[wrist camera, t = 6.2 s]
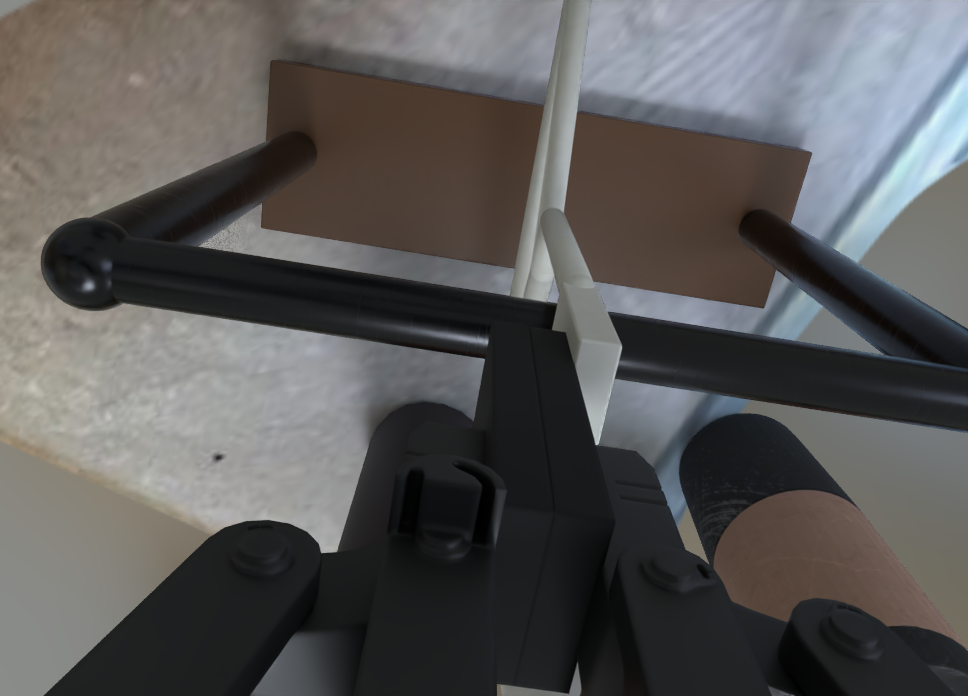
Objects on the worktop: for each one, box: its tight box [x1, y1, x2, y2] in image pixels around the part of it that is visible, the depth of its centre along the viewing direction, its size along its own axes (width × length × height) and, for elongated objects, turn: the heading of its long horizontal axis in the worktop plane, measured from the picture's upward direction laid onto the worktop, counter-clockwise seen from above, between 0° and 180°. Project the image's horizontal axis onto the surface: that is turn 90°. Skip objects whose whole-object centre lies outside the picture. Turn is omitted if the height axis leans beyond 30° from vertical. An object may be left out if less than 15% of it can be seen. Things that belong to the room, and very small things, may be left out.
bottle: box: [337, 402, 474, 552], centre depth 36 cm, size 7×7×20 cm
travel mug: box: [679, 413, 968, 696], centre depth 36 cm, size 8×8×20 cm
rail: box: [41, 60, 968, 433], centre depth 29 cm, size 8×26×23 cm, turn 81°
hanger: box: [510, 0, 622, 445], centre depth 23 cm, size 23×1×18 cm, turn 171°
